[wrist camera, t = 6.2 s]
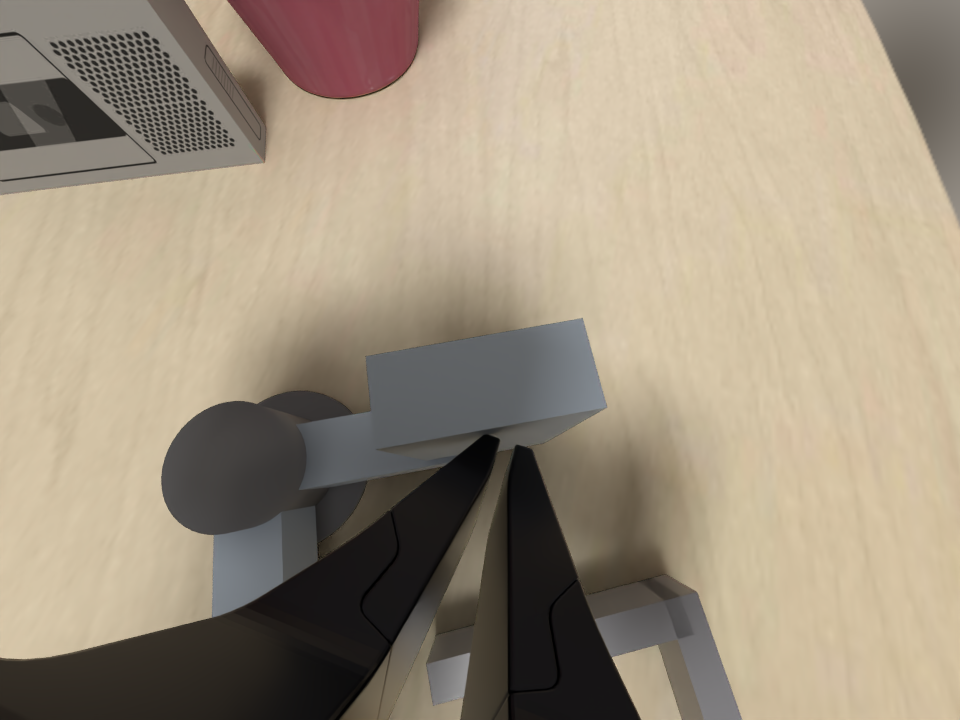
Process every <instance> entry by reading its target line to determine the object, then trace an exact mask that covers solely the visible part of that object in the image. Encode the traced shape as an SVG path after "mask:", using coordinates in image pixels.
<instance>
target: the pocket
mask: <svg viewBox="0 0 960 720" xmlns="http://www.w3.org/2000/svg"><path fill="white" fill-rule="evenodd" d="M586 598H587V601H588V603H589V606H590V608H591V611H592V613H593V616H594V618H595V621H596V623H597V626H598V628H599V631H600V633H601V635H602V637H603V640H604V642H605V644H606V646H607V648H608V651H609V653H610V655H611V657H614V656H618V655H621V654H625V653H629V652H632V651H636V650H640V649H643V648H647V647H651V646H654V645H659V648H660V651H661V654H662V657H663V661H664V664H665V667H666V670H667V673H668V676H669V679H670V683H671V686H672V689H673V692H674V695H675V698H676V702H677V705H678V708H679V711H680V714H681V717H682V720H742V718H741V715H740V712H739V709H738V706H737V704H736V701H735V698H734V695H733V692H732V690H731V687H730V684H729V681H728V678H727V675H726V673H725V670H724V667H723V664H722V661H721V658H720V656H719V653H718V650H717V647H716V644H715V641H714V639H713V636H712V633H711V630H710V627H709V624H708V622H707V619H706V616H705V613H704V610H703V608H702V605H701V602H700V599H699V596H698V593H697V592H696V591H694V590H693V589H691V588H689V587H687V586H686V585H684V584H682V583H680V582H679V581H677V580H675V579H673V578H672V577H670V576H668V575H666V574H665V575H662V576H658V577H654V578H650V579H646V580H643V581H639V582H635V583H631V584H627V585H624V586H620V587H616V588H612V589H608V590H605V591H601V592H597V593H593V594H590V595H586ZM474 626H475V625H472V626H468V627H465V628H461V629H457V630H453V631H449V632H446V633H442V634H438V635H436V637H435V640H434V643H433V646H432V649H431V652H430V655H429V658H428V661H427V664H426V665H427V671H428V677H429V683H430V689H431V696H432V702H433V706H434V705H437V704H441V703H445V702H448V701H452V700H456V699H459V698H463V697H464V692H465V686H466V679H467V672H468V666H469V659H470V652H471V646H472V639H473V632H474Z"/></svg>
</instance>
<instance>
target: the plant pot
mask: <svg viewBox="0 0 960 720" xmlns="http://www.w3.org/2000/svg"><path fill="white" fill-rule="evenodd" d="M227 1H228V2H229V3H230V4H231V6H232V7H233V8H234V10H235V11H236V12H237V13H238V15H239V16H240V17H241V18H242V20H243V21H244V22H245V23H246V25H247V26H248V27H249V28H250V30H251V31H252V32H253V33H254V35H255V36H256V37H257V39H258V40H259V41H260V42H261V44H262V45H263V46H264V47H265V49H266V50H267V51H268V52H269V54H270V55H271V56H272V57H273V59H274V60H275V61H276V62H277V64H278V65H279V66H280V68H281V69H282V70H283V72H284V73H285V74H286V76H287V77H288V78H289V79H290V80H291V81H292V82H293V83H295V84H296V85H297V86H299V87H300V88H302V89H304V90H306V91H308V92H310V93H313V94H317V95H320V96H325V97H332V98H345V97H355V96H361V95H365V94H368V93H372V92H375V91H377V90H380V89H382V88H383V87H385V86H387V85H389V84H390V83H392V82H393V81H395V80H396V79H397V78H399V77H400V76H401V75H402V74H403V73H404V72H405V71H406V70H407V68H408V67H409V66H410V64H411V63H412V61H413V59H414V56H415V54H416V51H417V46H418V14H419V0H227Z"/></svg>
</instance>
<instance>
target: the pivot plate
mask: <svg viewBox="0 0 960 720" xmlns="http://www.w3.org/2000/svg"><path fill="white" fill-rule="evenodd" d="M258 405H261V406H264V407H268V408H271V409H274V410H278V411H281V412H284V413H288V414H291V415H294V416H298V417H301V418H304V419H308V420H310V421H312V422H314V421H319V420H325V419H330V418H336V417H341V416H347V415H353V414H352V412H351V411H350V410H349V409H348V408H346V407H345V406H344V405H343V404H341V403H340V402H338V401H336V400H335V399H333V398H330V397H328V396H326V395H323V394H319V393H316V392H309V391H293V392H286V393H282V394H278V395H275V396H273V397H270V398H268V399H266V400H264V401H262V402H260V403H258ZM366 484H367V481H362V482H356V483H351V484H345V485H340V486H334V487H329V489H328V491H327V492H326V494H325V495H324V497H323V498H322V499H321V500H320V501H319V503H318V504H316V505H315V512H316V532H317V543H318V542H320V541H322V540H323V539H325V538H327V537H328V536H330V535H331V534H332V533H334V532H335V531H336V530H338V529H339V528H340V527H341V526H342V525H343V524H344V523H345V522H346V520H347V519H348V518H349V517H350V515H351V514H352V513H353V511H354V510H355V508H356V507H357V505H358V503H359V501H360V499H361V497H362V495H363V493H364V490H365V487H366Z"/></svg>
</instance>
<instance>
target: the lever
mask: <svg viewBox="0 0 960 720" xmlns="http://www.w3.org/2000/svg"><path fill="white" fill-rule="evenodd" d="M366 366H367V376H368V386H369V397H370V407H371V411H369V412H364V413H358V414H353V415H347V416H341V417H336V418H330V419H325V420H319V421H314V422H312V421H310V420H308V419H304V418H301V417H298V416H294V415H291V414H288V413H284V412H281V411H278V410H274V409H271V408H268V407H264V406H261V405H258V404H254V403H251V402H244V401H232V402H225V403H221V404H218V405H215V406H212V407H210V408H208V409H206V410H204V411H202V412H201V413H199V414H198V415H196V416H195V417H194V418H192V419H191V420H190V421H189V422H188V423H187V424H186V425H185V426H184V427H183V428H182V429H181V430H180V432H179V433H178V434H177V435H176V437H175V439H174V440H173V442H172V443H171V445H170V447H169V449H168V452H167V454H166V457H165V460H164V464H163V468H162V476H161V484H162V492H163V496H164V500H165V503H166V505H167V507H168V509H169V511H170V512H171V514H172V515H173V517H174V518H175V519H176V520H177V521H178V522H179V523H181V524H182V525H183V526H185V527H186V528H188V529H190V530H192V531H195V532H198V533H201V534H207V535H214V551H213V599H212V618H213V617H216V616H219V615H222V614H225V613H227V612H230V611H232V610H235V609H237V608H239V607H241V606H244V605H245V604H247V603H249V602H251V601H253V600H255V599H257V598H258V597H260V596H262V595H263V594H265V593H267V592H268V591H270V590H271V589H273V588H275V587H276V586H278V585H279V584H281V583H283V582H284V581H286V580H287V579H289V578H291V577H292V576H294V575H295V574H297V573H299V572H300V571H302V570H303V569H305V568H307V567H308V566H310V565H311V564H313V563H315V562H316V561H318V552H317V532H316V512H315V505H316V504H318V503H319V501H320V500H321V499H322V498H323V497H324V495H325V494H326V492H327V491H328V489H329V487H334V486H340V485H345V484H351V483H356V482H362V481H367V480H372V479H378V478H383V477H389V476H394V475H400V474H405V473H411V472H416V471H421V470H427V469H432V468H438V467H443V466H445V465H446V464H447V463H449V462H450V461H451V460H452V459H454V458H455V457H456V456H457V455H459V454H460V453H461V452H462V451H464V450H465V449H466V448H467V447H469V446H470V445H471V444H472V443H474V442H475V441H476V440H477V439H479V438H480V437H481V436H482V435H485V434H488V435H491V436H494V437H497V438H499V439H500V441H501V442H500V445H499V449H498V452H499V451H504V450H510V449H514V447H515V445H517V444H518V445H521V446H524V447H526V446H531V445H537V444H542V443H545V442H547V441H549V440H551V439H552V438H554V437H556V436H558V435H559V434H561V433H563V432H565V431H566V430H568V429H570V428H572V427H573V426H575V425H577V424H579V423H581V422H582V421H584V420H586V419H588V418H589V417H591V416H593V415H595V414H596V413H598V412H600V411H602V410H603V409H605V408H607V405H606V401H605V398H604V394H603V391H602V387H601V383H600V380H599V376H598V372H597V369H596V365H595V361H594V358H593V354H592V350H591V347H590V343H589V340H588V336H587V332H586V329H585V325H584V321H583V318H581V319H576V320H570V321H564V322H559V323H553V324H547V325H541V326H536V327H530V328H524V329H519V330H513V331H507V332H502V333H496V334H490V335H484V336H479V337H473V338H467V339H462V340H456V341H450V342H444V343H439V344H433V345H427V346H422V347H416V348H410V349H405V350H399V351H393V352H387V353H382V354H376V355H370V356H366Z"/></svg>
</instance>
